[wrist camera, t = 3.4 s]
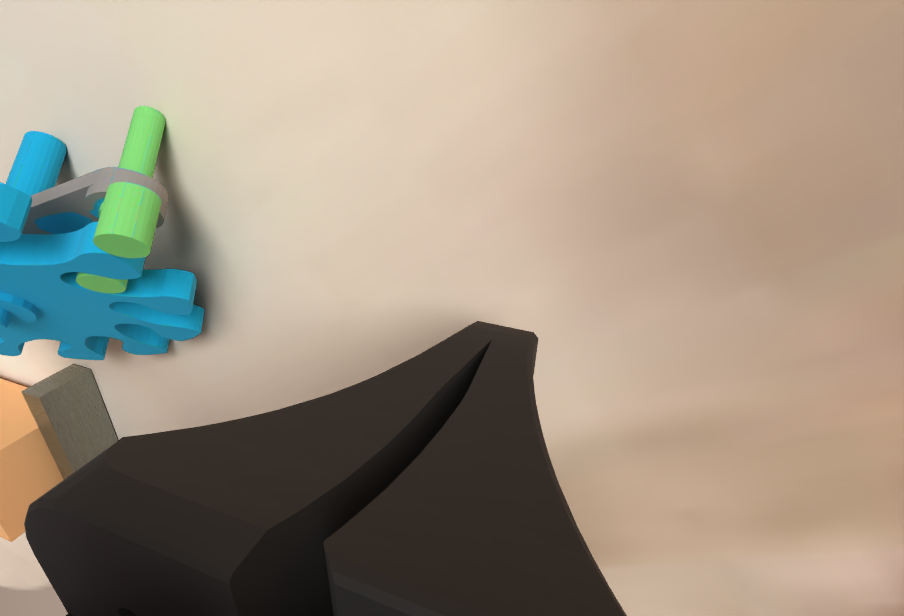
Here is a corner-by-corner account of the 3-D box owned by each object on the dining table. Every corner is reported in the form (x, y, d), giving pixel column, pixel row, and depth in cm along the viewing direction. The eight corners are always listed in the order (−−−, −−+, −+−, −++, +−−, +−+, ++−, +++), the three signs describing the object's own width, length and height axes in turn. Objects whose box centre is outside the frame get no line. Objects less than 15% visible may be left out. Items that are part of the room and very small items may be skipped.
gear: (57, 389, 18) (-482, 288, 10) (94, 252, 21) (-313, 70, 12) (301, 342, 15) (-195, 118, 6) (313, 184, 17) (-35, -142, 8)
